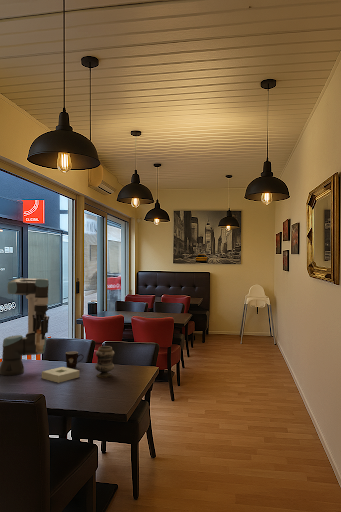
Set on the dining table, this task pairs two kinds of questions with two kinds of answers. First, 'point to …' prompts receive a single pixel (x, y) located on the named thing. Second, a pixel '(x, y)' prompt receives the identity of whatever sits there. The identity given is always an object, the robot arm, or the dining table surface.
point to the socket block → (60, 374)
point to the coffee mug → (72, 359)
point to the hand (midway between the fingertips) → (39, 344)
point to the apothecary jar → (104, 361)
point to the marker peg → (38, 342)
